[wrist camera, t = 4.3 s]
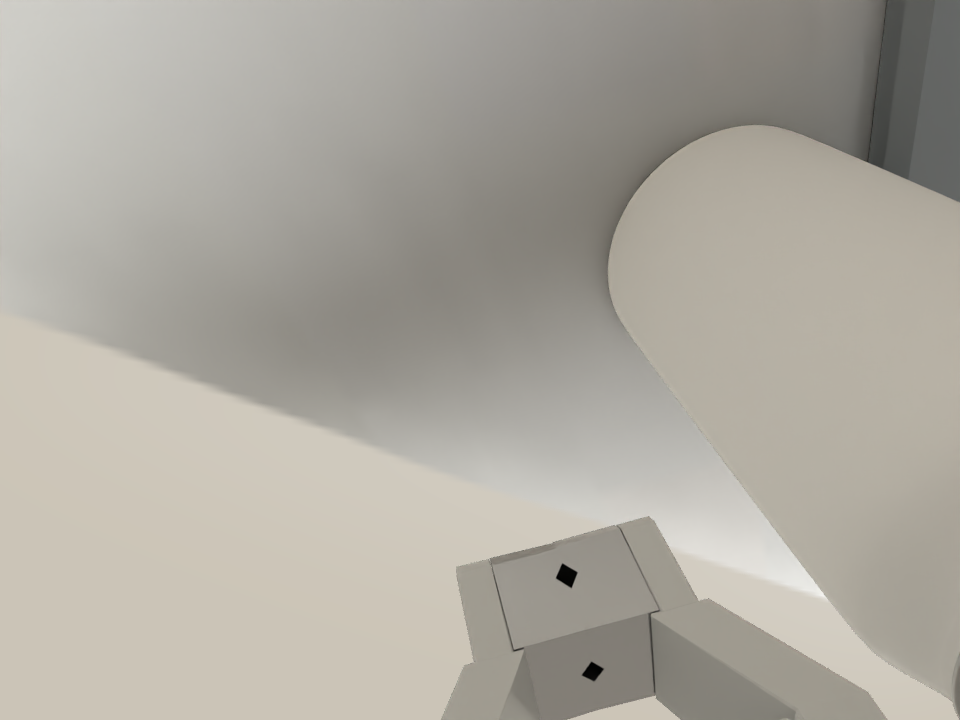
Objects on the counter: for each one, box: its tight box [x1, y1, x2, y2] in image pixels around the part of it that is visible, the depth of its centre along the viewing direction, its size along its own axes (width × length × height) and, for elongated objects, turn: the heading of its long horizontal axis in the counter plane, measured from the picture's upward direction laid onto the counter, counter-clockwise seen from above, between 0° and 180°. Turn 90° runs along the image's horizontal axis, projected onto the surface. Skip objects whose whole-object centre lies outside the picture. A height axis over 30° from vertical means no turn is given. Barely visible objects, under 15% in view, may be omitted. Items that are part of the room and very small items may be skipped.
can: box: [608, 125, 960, 720], centre depth 14 cm, size 6×6×12 cm
